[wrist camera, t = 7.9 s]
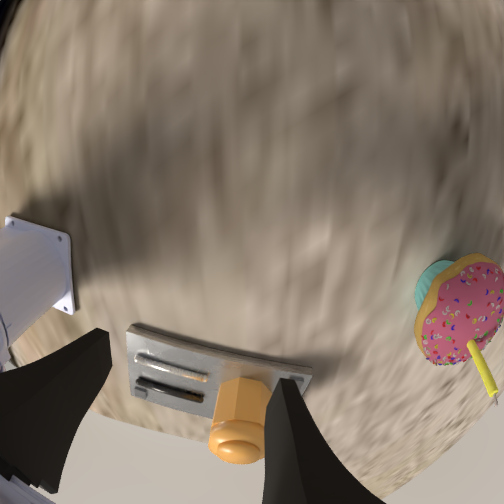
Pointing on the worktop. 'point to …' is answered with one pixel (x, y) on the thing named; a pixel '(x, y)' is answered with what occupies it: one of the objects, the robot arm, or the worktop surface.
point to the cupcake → (460, 312)
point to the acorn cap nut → (239, 421)
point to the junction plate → (195, 371)
